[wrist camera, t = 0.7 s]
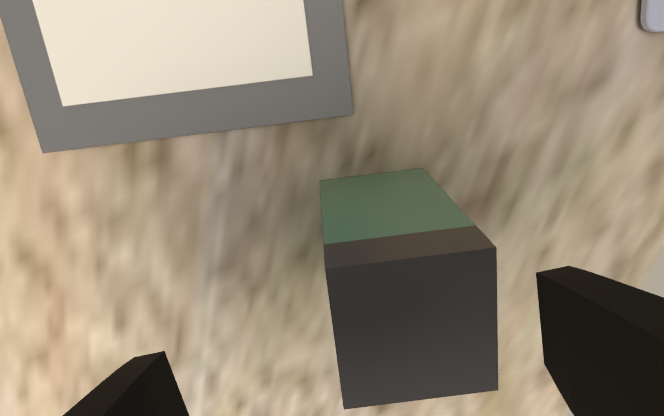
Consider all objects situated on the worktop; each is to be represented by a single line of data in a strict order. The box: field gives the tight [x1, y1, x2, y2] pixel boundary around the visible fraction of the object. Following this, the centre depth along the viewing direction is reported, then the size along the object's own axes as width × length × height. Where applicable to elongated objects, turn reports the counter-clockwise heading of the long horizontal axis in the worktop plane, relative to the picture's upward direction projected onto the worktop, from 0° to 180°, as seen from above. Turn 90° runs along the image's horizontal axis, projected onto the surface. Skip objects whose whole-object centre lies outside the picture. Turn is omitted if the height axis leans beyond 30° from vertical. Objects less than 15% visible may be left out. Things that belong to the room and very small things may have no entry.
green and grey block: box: [320, 168, 498, 409], centre depth 16 cm, size 4×4×8 cm
